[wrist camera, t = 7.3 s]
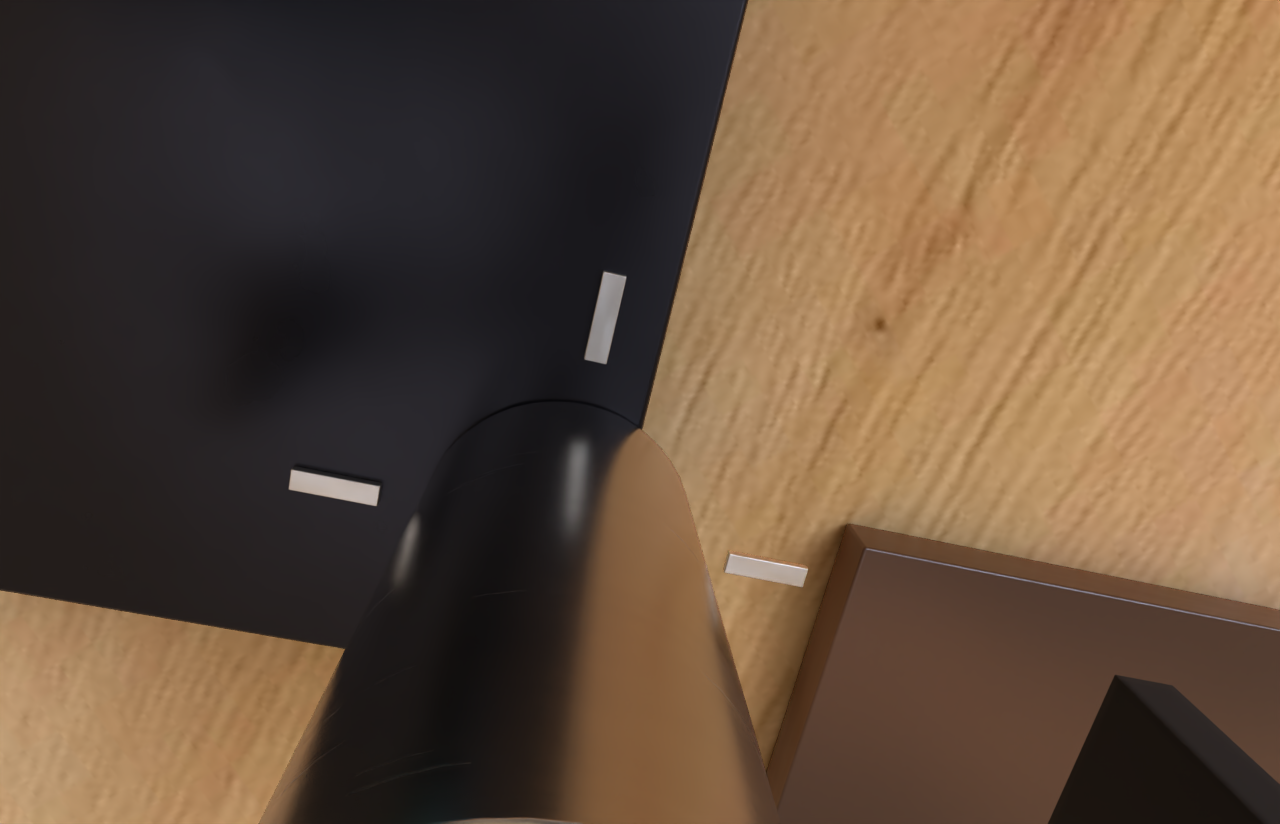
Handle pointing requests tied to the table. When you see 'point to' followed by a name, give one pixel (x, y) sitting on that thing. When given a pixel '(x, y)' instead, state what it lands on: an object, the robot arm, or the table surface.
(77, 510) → the hob
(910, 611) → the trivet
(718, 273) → the table surface
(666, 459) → the knob
